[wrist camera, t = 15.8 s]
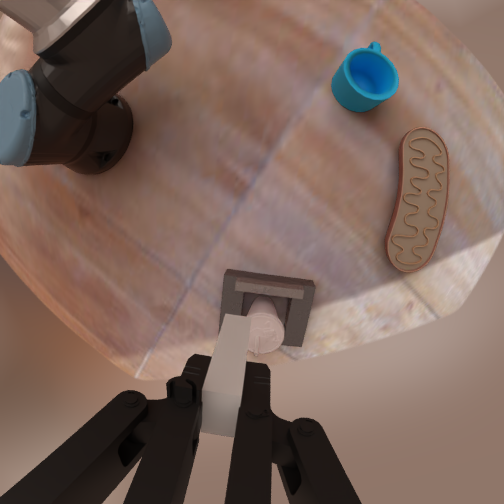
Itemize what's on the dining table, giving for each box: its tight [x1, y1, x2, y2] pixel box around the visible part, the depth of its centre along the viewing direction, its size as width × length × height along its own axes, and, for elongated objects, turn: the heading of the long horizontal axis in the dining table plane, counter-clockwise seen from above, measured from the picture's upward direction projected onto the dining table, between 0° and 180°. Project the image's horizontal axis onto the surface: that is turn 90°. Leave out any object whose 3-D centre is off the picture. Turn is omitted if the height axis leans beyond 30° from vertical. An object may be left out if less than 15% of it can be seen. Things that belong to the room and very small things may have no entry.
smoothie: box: [246, 296, 285, 357], centre depth 41 cm, size 6×6×14 cm
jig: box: [218, 269, 315, 347], centre depth 45 cm, size 14×11×5 cm
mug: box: [331, 42, 399, 112], centre depth 33 cm, size 12×8×8 cm
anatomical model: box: [385, 127, 450, 272], centre depth 39 cm, size 23×10×5 cm, turn 173°
